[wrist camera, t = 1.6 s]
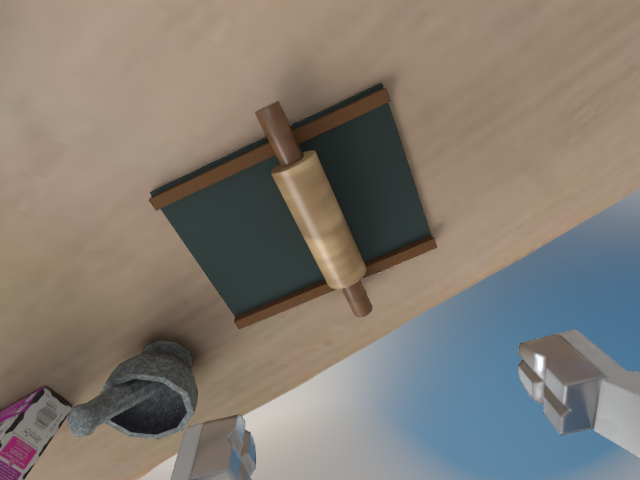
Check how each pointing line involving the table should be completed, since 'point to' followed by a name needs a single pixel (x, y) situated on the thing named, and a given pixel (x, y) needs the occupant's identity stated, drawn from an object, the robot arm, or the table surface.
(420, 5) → the table surface
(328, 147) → the chalkboard
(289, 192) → the rolling pin
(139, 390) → the mortar and pestle
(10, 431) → the candy bar box
